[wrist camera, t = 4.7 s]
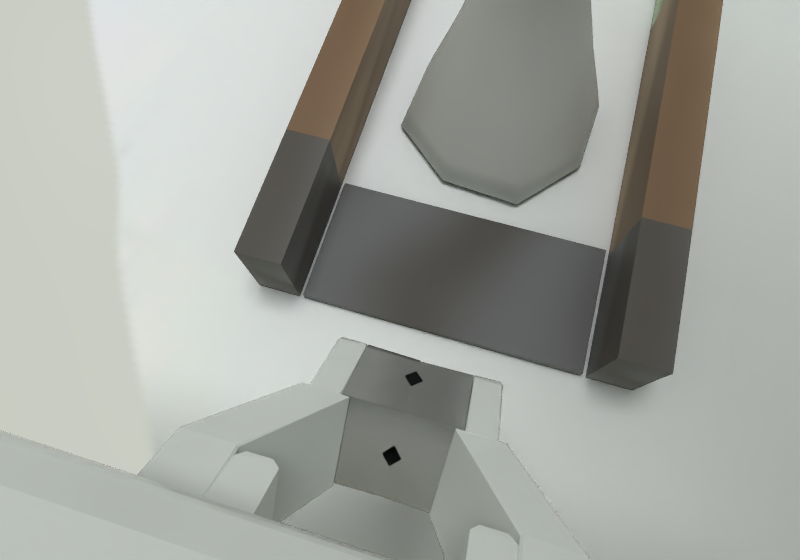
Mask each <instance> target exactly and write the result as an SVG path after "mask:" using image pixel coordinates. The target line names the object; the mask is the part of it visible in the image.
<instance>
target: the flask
mask: <svg viewBox="0 0 800 560" xmlns="http://www.w3.org/2000/svg"><path fill="white" fill-rule="evenodd" d="M598 107H599V103H598V88H597V78H596V69H595V60H594V51H593V34H592V13H591V0H465V2H464V4H463V6H462V8H461V10H460V11H459V13H458V15H457V17H456V19H455V21H454V22H453V24H452V26H451V27H450V29H449V31H448V32H447V34H446V36H445V37H444V39H443V41H442V42H441V44H440V46H439V47H438V49H437V51H436V52H435V54H434V56H433V58H432V60H431V61H430V63H429V65H428V67H427V69H426V71H425V73H424V76H423V78H422V80H421V82H420V85H419V87H418V89H417V91H416V93H415V96H414V98H413V100H412V102H411V105H410V107H409V109H408V111H407V114H406V116H405V118H404V120H403V122H402V125H401V126H402V127H403V128H404V130H405V131H406V132H407V134H408V135H409V136H410V138H411V139H412V140H413V142H414V143H415V144H416V146H417V147H418V148H419V150H420V151H421V152H422V154H423V155H424V156H425V158H426V159H427V160H428V162H429V163H430V164H431V166H432V167H433V168H434V170H435V171H436V172H437V174H438V175H439V176H440V178H441V179H442V180H443V181H446V182H449V183H452V184H455V185H458V186H461V187H465V188H468V189H471V190H474V191H477V192H480V193H483V194H486V195H489V196H492V197H495V198H499V199H502V200H505V201H508V202H511V203H514V204H519V203H520V202H522V201H524V200H525V199H527V198H529V197H530V196H532V195H534V194H535V193H537V192H539V191H540V190H542V189H544V188H545V187H547V186H549V185H550V184H552V183H554V182H555V181H557V180H559V179H560V178H562V177H564V176H565V175H567V174H569V173H570V172H572V171H574V170H576V169H577V168H579V167H580V164H581V161H582V158H583V155H584V152H585V148H586V145H587V142H588V139H589V136H590V133H591V129H592V126H593V123H594V120H595V117H596V113H597V110H598Z"/></svg>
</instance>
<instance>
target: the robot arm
mask: <svg viewBox="0 0 800 560" xmlns="http://www.w3.org/2000/svg"><path fill="white" fill-rule="evenodd" d="M502 390H503V385H502V383H501V382H499V381H495V380H491V379H487V378H483V377H479V376H475V375H474V377H473V375H470V374H466V373H462V372H458V371H454V370H451V369H447V368H443V367H439V366H435V365H431V364H428V363H424V362H420V360H417V359H413V358H410V357H407V356H404V355H400V354H397V353H394V352H391V351H387V350H384V349H381V348H378V347H374V346H371V345H367V344H365V343H362V342H358V341H354V340H351V339H347V338H343V337H342V338H340V339H339V340H338V341H337V342H336V344H335V345H334V347H333V349H332V350H331V352H330V353H329V355H328V357H327V358H326V360H325V361H324V363H323V364H322V366H321V368H320V369H319V371H318V372H317V374H316V376H315V377H314V379H313V380H312V382H311V384H310V385H309V384H305V383H300V384H297V385H294V386H291V387H289V388H286V389H283V390H281V391H278V392H275V393H272V394H270V395H267V396H264V397H261V398H259V399H256V400H253V401H250V402H248V403H245V404H242V405H240V406H237V407H234V408H231V409H229V410H226V411H223V412H220V413H218V414H215V415H212V416H209V417H207V418H204V419H201V420H198V421H196V422H193V423H190V424H188V425H185V426H182V427H180V428H179V429H178V430H177V431H176V432H175V433H174V434H173V436H172V437H171V438H170V439H169V440H168V441H167V442H166V443H165V444H164V446H163V447H162V448H161V449H160V450H159V451H158V452H157V453H156V455H155V456H154V457H153V458H152V459H151V460H150V461H149V462H148V463H147V465H146V466H145V467H144V468H143V469H142V470H141V471H140V473H139V474H138V475H134V474H131V473H128V472H125V471H122V470H119V469H116V468H113V467H110V466H107V465H104V464H101V463H98V462H95V461H91V460H88V459H85V458H82V457H79V456H77V455H73V454H70V453H67V452H64V451H61V450H58V449H55V448H52V447H49V446H46V445H43V444H40V443H37V442H34V441H31V440H28V439H25V438H22V437H18V436H16V435H13V434H9V433H6V432H4V431H0V560H393V559H390V558H387V557H384V556H381V555H378V554H375V553H372V552H369V551H366V550H363V549H360V548H357V547H354V546H351V545H347V544H344V543H341V542H338V541H335V540H332V539H329V538H326V537H323V536H320V535H317V534H314V533H311V532H308V531H305V530H302V529H299V528H295V527H292V526H289V525H286V524H283V523H280V522H281V521H283V520H284V519H286V518H287V517H289V516H290V515H291V514H293V513H294V512H296V511H297V510H299V509H300V508H301V507H303V506H304V505H306V504H307V503H309V502H310V501H311V500H313V499H314V498H316V497H317V496H319V495H320V494H321V493H323V492H324V491H326V490H327V489H329V488H330V487H331V486H333V483H336V484H340V485H343V486H347V487H350V488H354V489H357V490H361V491H364V492H368V493H371V494H375V495H378V496H382V497H385V498H387V499H390V500H393V501H396V502H399V503H402V504H405V505H408V506H410V507H413V508H416V509H419V510H422V511H425V512H428V513H430V515H429V516H430V519H431V521H432V524H433V527H434V530H435V532H436V535H437V538H438V540H439V543H440V546H441V548H442V551H443V554H444V557H445V559H446V560H589V557H588V555H587V554H586V553H585V551H584V550H583V549H582V547H581V546H580V544H579V543H578V542H577V540H576V539H575V537H574V536H573V535H572V533H571V532H570V531H569V529H568V528H567V526H566V525H565V524H564V522H563V521H562V519H561V518H560V517H559V515H558V514H557V512H556V511H555V510H554V508H553V507H552V506H551V504H550V503H549V501H548V500H547V499H546V497H545V496H544V494H543V493H542V492H541V490H540V489H539V488H538V486H537V485H536V483H535V482H534V481H533V479H532V478H531V476H530V475H529V474H528V472H527V471H526V469H525V468H524V467H523V465H522V464H521V463H520V461H519V460H518V458H517V457H516V456H515V454H514V453H513V451H512V450H511V449H510V447H509V446H508V445H507V444H506V443H503V442H500V441H499V430H500V417H501V403H502Z"/></svg>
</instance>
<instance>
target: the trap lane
mask: <svg viewBox="0 0 800 560" xmlns="http://www.w3.org/2000/svg"><path fill="white" fill-rule="evenodd" d="M410 1H411V0H342V1H341V3H340V6H339V8H338V10H337V13H336V15H335V17H334V20H333V22H332V24H331V27H330V29H329V31H328V34H327V36H326V38H325V41H324V43H323V45H322V48H321V50H320V52H319V55H318V57H317V59H316V62H315V64H314V66H313V69H312V71H311V73H310V76H309V78H308V80H307V83H306V85H305V87H304V90H303V92H302V94H301V97H300V99H299V101H298V104H297V106H296V108H295V111H294V113H293V115H292V118H291V120H290V122H289V125H288V127H287V129H286V132H285V134H284V136H283V139H282V141H281V143H280V146H279V148H278V150H277V153H276V155H275V157H274V160H273V162H272V164H271V166H270V169H269V171H268V173H267V176H266V178H265V180H264V183H263V185H262V187H261V190H260V192H259V194H258V197H257V199H256V201H255V204H254V206H253V208H252V211H251V213H250V215H249V218H248V220H247V222H246V225H245V227H244V229H243V232H242V234H241V236H240V239H239V241H238V243H237V246H236V248H235V250H234V252H235V253H236V255H237V256H238V257H239V259H240V260H241V261H242V263H243V264H244V265H245V266H246V268H247V269H248V270H249V272H250V273H251V274H252V275H253V277H254V278H255V279H256V281H257V282H258V283H259V285H263V286H266V287H270V288H273V289H277V290H280V291H284V292H287V293H291V294H294V295H298V296H300V294H301V291H302V288H303V286H304V283H305V280H306V278H307V275H308V272H309V270H310V267H311V264H312V262H313V259H314V256H315V254H316V251H317V248H318V246H319V243H320V240H321V238H322V235H323V232H324V230H325V227H326V225H327V222H328V219H329V217H330V214H331V211H332V209H333V206H334V203H335V201H336V198H337V195H338V193H339V190H340V187H341V185H342V182H343V179H344V177H345V174H346V171H347V169H348V166H349V163H350V161H351V158H352V155H353V153H354V150H355V147H356V145H357V142H358V139H359V137H360V134H361V131H362V129H363V126H364V123H365V121H366V118H367V115H368V113H369V110H370V108H371V105H372V102H373V100H374V97H375V94H376V92H377V89H378V86H379V84H380V81H381V78H382V76H383V73H384V70H385V68H386V65H387V62H388V60H389V57H390V54H391V52H392V49H393V46H394V44H395V41H396V38H397V36H398V33H399V30H400V28H401V25H402V22H403V20H404V17H405V14H406V12H407V9H408V6H409V4H410ZM722 5H723V0H656V4H655V10H654V15H653V21H652V26H651V31H650V37H649V42H648V47H647V53H646V58H645V63H644V69H643V74H642V80H641V85H640V90H639V96H638V101H637V106H636V112H635V117H634V122H633V128H632V133H631V139H630V144H629V149H628V155H627V160H626V165H625V171H624V176H623V181H622V187H621V192H620V197H619V203H618V208H617V214H616V219H615V224H614V230H613V235H612V240H611V246H610V251H609V256H608V262H607V267H606V273H605V278H604V283H603V289H602V294H601V299H600V305H599V310H598V315H597V321H596V326H595V332H594V337H593V342H592V348H591V353H590V358H589V364H588V369H587V374H586V377H587V378H591V379H594V380H598V381H601V382H605V383H608V384H612V385H615V386H619V387H622V388H626V389H630V390H634V389H636V388H639V387H641V386H644V385H646V384H648V383H651V382H653V381H656V380H658V379H661V378H663V377H665V376H668V375H670V374H673V369H674V361H675V354H676V347H677V339H678V332H679V324H680V317H681V309H682V302H683V295H684V287H685V280H686V272H687V265H688V258H689V250H690V243H691V235H692V228H693V220H694V213H695V206H696V198H697V191H698V183H699V176H700V169H701V161H702V154H703V146H704V139H705V131H706V124H707V117H708V109H709V102H710V94H711V87H712V79H713V72H714V65H715V57H716V50H717V42H718V35H719V28H720V20H721V13H722ZM605 252H606V250H603V249H599V248H595V247H591V246H588V245H584V244H580V243H576V242H572V241H568V240H564V239H560V238H556V237H552V236H549V235H545V234H541V233H537V232H533V231H529V230H525V229H521V228H517V227H513V226H510V225H506V224H502V223H498V222H494V221H490V220H486V219H482V218H478V217H474V216H471V215H467V214H463V213H459V212H455V211H451V210H447V209H443V208H439V207H435V206H432V205H428V204H424V203H420V202H416V201H412V200H408V199H404V198H400V197H396V196H393V195H389V194H385V193H381V192H377V191H373V190H369V189H365V188H361V187H357V186H354V185H350V184H346V183H345V185H344V188H343V190H342V193H341V196H340V198H339V201H338V204H337V206H336V209H335V212H334V214H333V217H332V220H331V222H330V225H329V228H328V230H327V233H326V236H325V239H324V241H323V244H322V247H321V249H320V252H319V255H318V257H317V260H316V263H315V265H314V268H313V271H312V273H311V276H310V279H309V281H308V284H307V287H306V289H305V292H304V297H305V298H309V299H312V300H316V301H319V302H323V303H326V304H330V305H333V306H337V307H340V308H344V309H347V310H351V311H354V312H358V313H361V314H365V315H369V316H372V317H376V318H379V319H383V320H386V321H390V322H393V323H397V324H400V325H404V326H407V327H411V328H414V329H418V330H421V331H425V332H428V333H432V334H436V335H439V336H443V337H446V338H450V339H453V340H457V341H460V342H464V343H467V344H471V345H474V346H478V347H481V348H485V349H488V350H492V351H495V352H499V353H503V354H506V355H510V356H513V357H517V358H520V359H524V360H527V361H531V362H534V363H538V364H541V365H545V366H548V367H552V368H555V369H559V370H563V371H566V372H570V373H573V374H577V375H581V374H583V369H584V364H585V358H586V353H587V348H588V342H589V337H590V332H591V326H592V321H593V316H594V311H595V305H596V300H597V295H598V289H599V284H600V279H601V274H602V268H603V263H604V258H605Z"/></svg>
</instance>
